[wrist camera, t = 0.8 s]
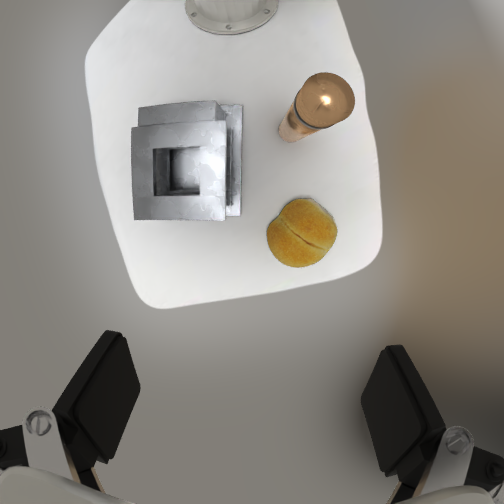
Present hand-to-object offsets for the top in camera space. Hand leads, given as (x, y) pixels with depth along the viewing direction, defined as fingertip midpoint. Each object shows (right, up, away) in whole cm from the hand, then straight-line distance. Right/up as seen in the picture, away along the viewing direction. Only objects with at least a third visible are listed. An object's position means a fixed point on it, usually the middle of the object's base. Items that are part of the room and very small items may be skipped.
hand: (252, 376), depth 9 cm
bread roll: (+6, +7, +27) cm, 29 cm away
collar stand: (-7, +15, +24) cm, 30 cm away
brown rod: (+5, +19, +22) cm, 30 cm away
